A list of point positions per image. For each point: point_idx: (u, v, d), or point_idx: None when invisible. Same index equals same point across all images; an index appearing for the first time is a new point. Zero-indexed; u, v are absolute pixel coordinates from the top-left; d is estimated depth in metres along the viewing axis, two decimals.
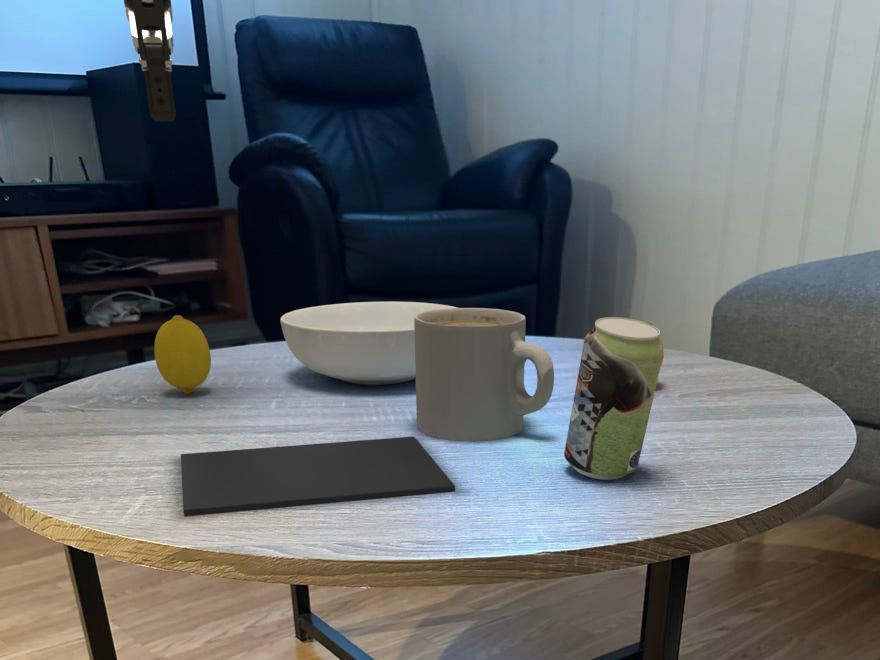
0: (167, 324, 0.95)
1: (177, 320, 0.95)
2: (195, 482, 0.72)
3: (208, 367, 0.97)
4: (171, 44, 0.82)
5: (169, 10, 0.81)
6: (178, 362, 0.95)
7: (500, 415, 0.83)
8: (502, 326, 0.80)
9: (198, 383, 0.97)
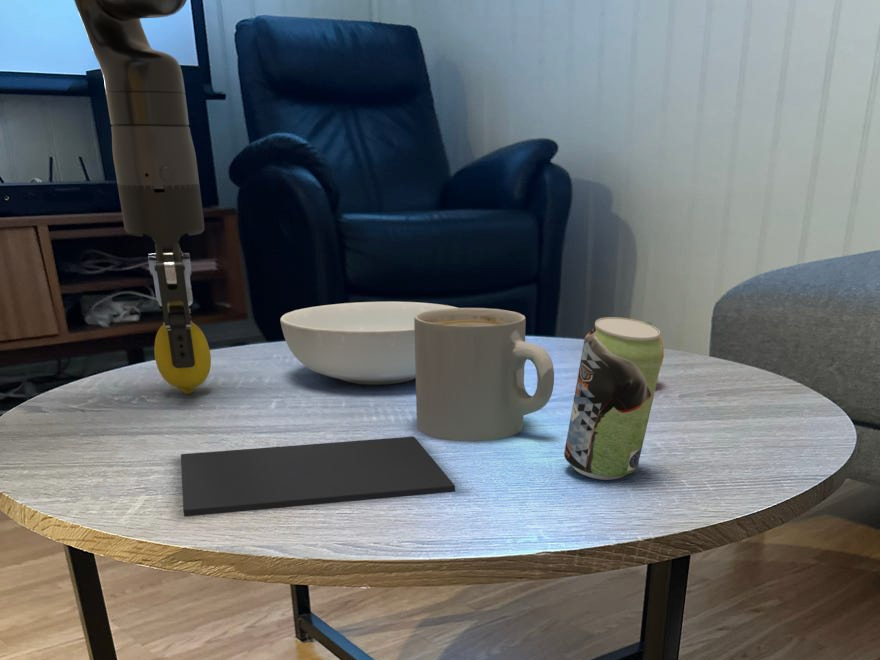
0: None
1: None
2: (195, 482, 0.72)
3: (208, 367, 0.97)
4: (191, 302, 0.93)
5: (189, 272, 0.92)
6: None
7: (500, 415, 0.83)
8: (502, 326, 0.80)
9: (198, 383, 0.97)
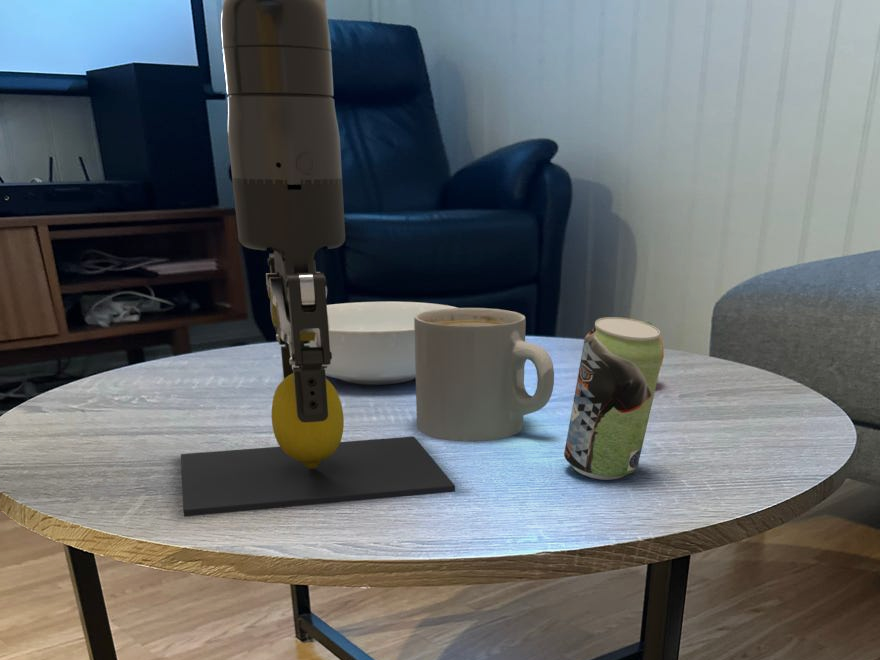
0: (291, 379, 0.71)
1: None
2: (195, 482, 0.72)
3: (341, 434, 0.73)
4: None
5: None
6: (306, 430, 0.71)
7: (500, 415, 0.83)
8: (502, 326, 0.80)
9: (327, 455, 0.73)
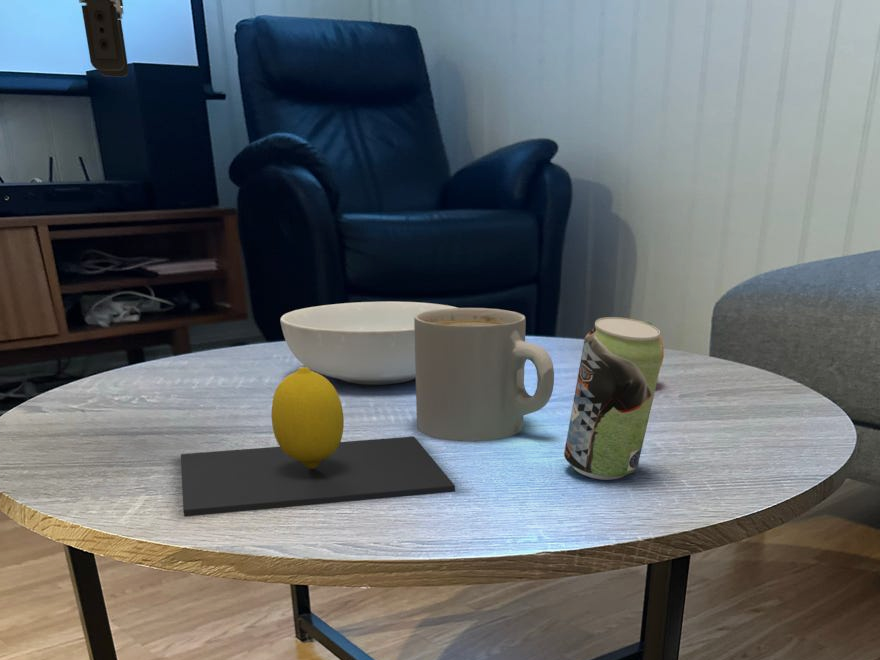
0: (291, 379, 0.71)
1: (304, 374, 0.71)
2: (195, 482, 0.72)
3: (341, 434, 0.73)
4: None
5: None
6: (306, 430, 0.71)
7: (500, 415, 0.83)
8: (502, 326, 0.80)
9: (327, 455, 0.73)
